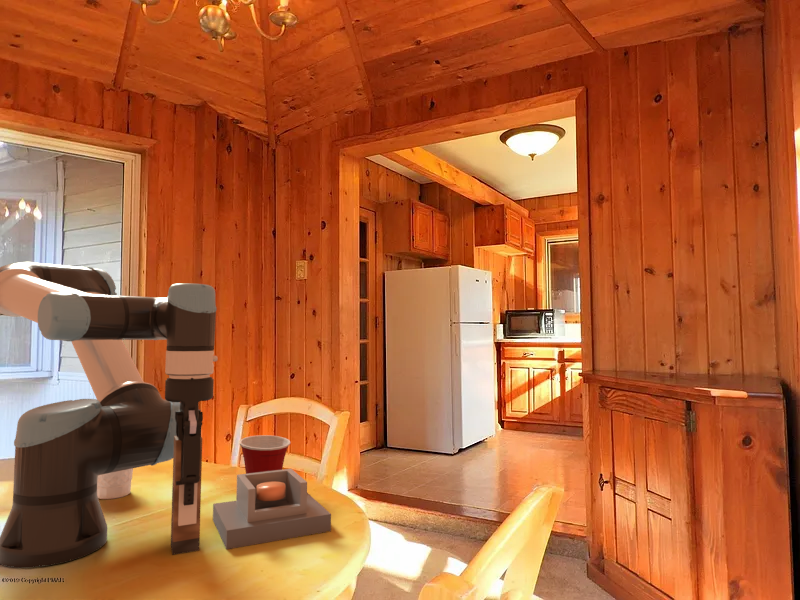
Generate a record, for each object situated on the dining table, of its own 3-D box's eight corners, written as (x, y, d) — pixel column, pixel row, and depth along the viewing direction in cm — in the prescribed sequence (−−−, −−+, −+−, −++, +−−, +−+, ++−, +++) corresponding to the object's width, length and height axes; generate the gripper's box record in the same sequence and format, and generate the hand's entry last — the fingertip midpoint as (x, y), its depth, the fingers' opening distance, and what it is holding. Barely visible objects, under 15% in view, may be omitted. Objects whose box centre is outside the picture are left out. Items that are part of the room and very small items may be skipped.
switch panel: (226, 549, 88) (227, 496, 88) (212, 519, 101) (214, 474, 101) (330, 531, 96) (331, 482, 96) (305, 506, 109) (306, 463, 110)
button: (259, 502, 95) (260, 491, 95) (253, 494, 100) (253, 483, 100) (288, 498, 97) (288, 487, 98) (281, 490, 102) (281, 480, 102)
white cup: (140, 489, 119) (142, 444, 120) (118, 501, 111) (120, 452, 112) (107, 488, 120) (109, 443, 121) (83, 499, 112) (85, 451, 113)
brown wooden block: (172, 554, 85) (176, 440, 86) (170, 545, 89) (174, 435, 90) (199, 550, 87) (202, 438, 88) (196, 541, 91) (199, 433, 92)
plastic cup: (256, 507, 108) (258, 447, 109) (227, 496, 115) (229, 439, 116) (299, 495, 116) (300, 439, 117) (270, 485, 123) (271, 432, 124)
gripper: (221, 379, 84) (217, 533, 82) (206, 371, 99) (203, 501, 97) (169, 381, 80) (164, 541, 79) (162, 373, 95) (157, 507, 94)
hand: (185, 519), depth 88 cm, fingers closed on brown wooden block, 4 cm apart
